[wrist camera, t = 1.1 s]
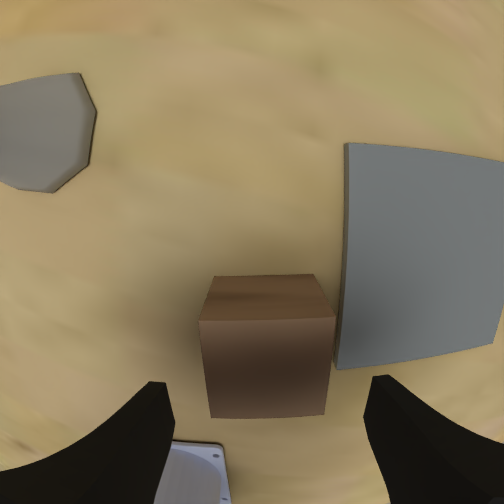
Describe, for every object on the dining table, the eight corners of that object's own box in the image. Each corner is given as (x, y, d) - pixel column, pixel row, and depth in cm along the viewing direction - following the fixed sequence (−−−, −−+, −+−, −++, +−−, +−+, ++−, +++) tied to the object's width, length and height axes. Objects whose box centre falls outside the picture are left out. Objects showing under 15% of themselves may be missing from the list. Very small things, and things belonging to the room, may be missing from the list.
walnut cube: (308, 355, 17) (324, 414, 12) (221, 358, 17) (210, 418, 12) (312, 273, 16) (335, 316, 11) (214, 276, 16) (198, 320, 11)
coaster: (486, 338, 17) (492, 343, 16) (333, 362, 17) (336, 369, 16) (511, 165, 14) (519, 166, 13) (344, 144, 14) (348, 143, 13)
